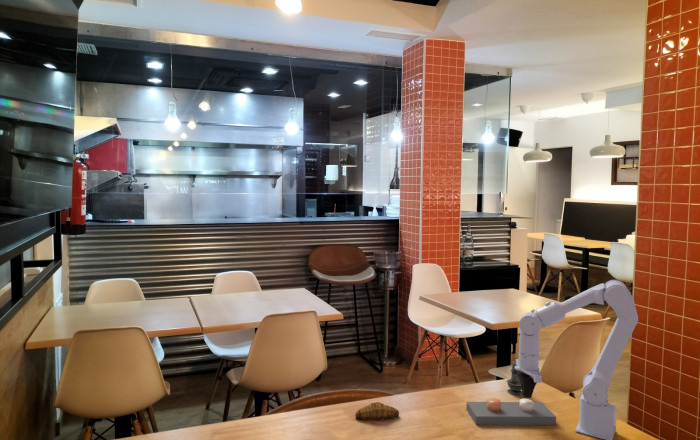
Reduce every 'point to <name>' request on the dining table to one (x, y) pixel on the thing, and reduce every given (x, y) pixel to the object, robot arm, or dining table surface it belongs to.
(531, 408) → the knob
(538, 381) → the robot arm
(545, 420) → the control board
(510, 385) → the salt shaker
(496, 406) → the knob
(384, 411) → the croissant
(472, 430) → the dining table surface
